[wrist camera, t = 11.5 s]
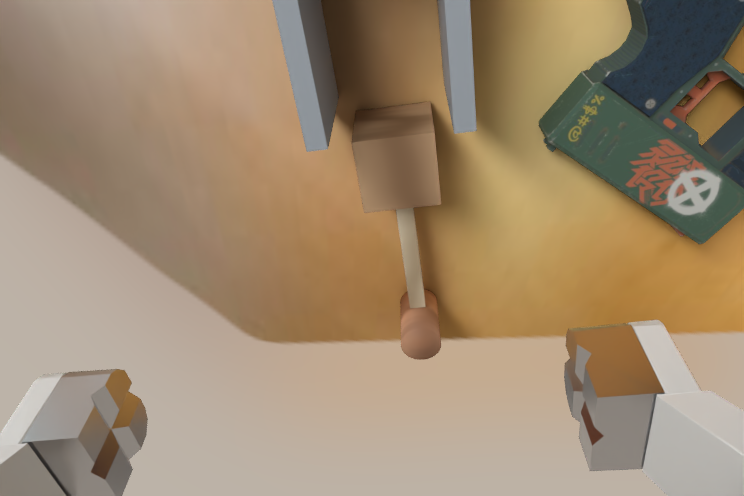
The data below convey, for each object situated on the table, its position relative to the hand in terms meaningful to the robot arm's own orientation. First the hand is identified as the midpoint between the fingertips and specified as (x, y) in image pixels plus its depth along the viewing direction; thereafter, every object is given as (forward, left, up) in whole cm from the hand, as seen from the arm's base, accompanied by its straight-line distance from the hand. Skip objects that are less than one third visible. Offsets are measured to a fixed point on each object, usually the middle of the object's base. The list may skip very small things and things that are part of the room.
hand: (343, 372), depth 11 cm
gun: (+19, -8, -31) cm, 37 cm away
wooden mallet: (0, -16, -30) cm, 34 cm away
